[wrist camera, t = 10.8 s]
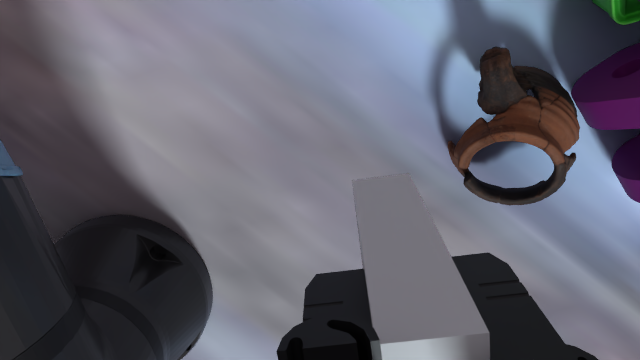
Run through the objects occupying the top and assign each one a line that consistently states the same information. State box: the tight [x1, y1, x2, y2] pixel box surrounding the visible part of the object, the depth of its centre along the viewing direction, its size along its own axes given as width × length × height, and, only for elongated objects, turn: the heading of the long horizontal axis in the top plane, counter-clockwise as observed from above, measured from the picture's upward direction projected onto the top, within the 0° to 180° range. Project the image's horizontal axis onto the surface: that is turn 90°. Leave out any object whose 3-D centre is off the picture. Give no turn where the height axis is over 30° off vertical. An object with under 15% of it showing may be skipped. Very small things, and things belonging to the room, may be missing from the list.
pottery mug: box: [448, 47, 580, 205], centre depth 36 cm, size 12×10×8 cm
